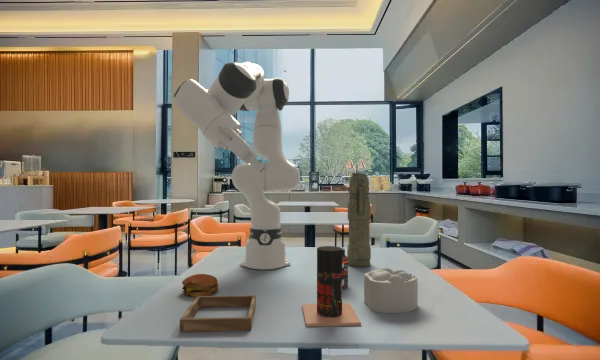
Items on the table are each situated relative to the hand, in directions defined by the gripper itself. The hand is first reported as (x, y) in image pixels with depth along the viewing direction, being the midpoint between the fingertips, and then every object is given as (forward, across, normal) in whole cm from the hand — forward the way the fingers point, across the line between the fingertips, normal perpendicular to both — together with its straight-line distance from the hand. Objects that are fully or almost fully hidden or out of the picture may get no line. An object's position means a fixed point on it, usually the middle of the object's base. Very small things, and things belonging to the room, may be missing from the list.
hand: (262, 170), depth 86 cm
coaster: (+36, -9, +13) cm, 39 cm away
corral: (+18, -9, +30) cm, 37 cm away
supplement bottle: (+40, +13, +9) cm, 43 cm away
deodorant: (+36, -9, +12) cm, 39 cm away
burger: (+12, +10, +37) cm, 40 cm away
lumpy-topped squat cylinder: (+48, -3, +1) cm, 48 cm away
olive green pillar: (+49, +40, -1) cm, 64 cm away
